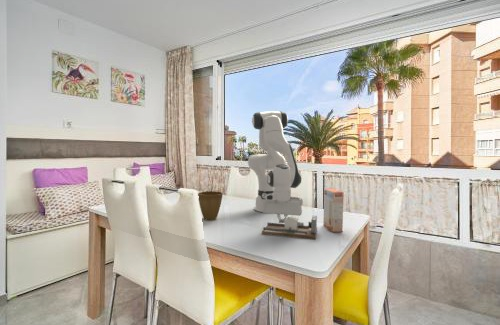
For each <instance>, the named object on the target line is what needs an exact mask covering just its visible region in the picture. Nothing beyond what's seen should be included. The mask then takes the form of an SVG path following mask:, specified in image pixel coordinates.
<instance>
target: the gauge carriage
mask: <svg viewBox="0 0 500 325" xmlns="http://www.w3.org/2000/svg"><path fill="white" fill-rule="evenodd" d="M284 224H285V229H289V230H290V229H292V230H297V228H298V226H305V225H304V222H300V221H299V216H294V215H287V217H286V219H285V223H284Z"/></svg>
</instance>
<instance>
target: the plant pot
mask: <svg viewBox="0 0 500 325" xmlns="http://www.w3.org/2000/svg"><path fill="white" fill-rule="evenodd" d="M197 196H199V198H198V203H199V208H200V211H201V214H202V217H203V219H204V220H205V221H215V220H217V218H218V215H219V211H220V210H221V209H220V208H221V204H222V199H223V192H222V191H214V190H213V191H212V190H211V191H210V190H208V191H200V192H198V193H197Z"/></svg>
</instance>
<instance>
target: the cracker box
mask: <svg viewBox="0 0 500 325" xmlns="http://www.w3.org/2000/svg"><path fill="white" fill-rule="evenodd" d="M323 192H324V193H323V221H322V222H323V224H322V225H323V226H324V227H325V228H326V229H328V230H329V231H330V232H331V233H342V232H343V224H344V218H343V217H344V192H343V191H340V190H338V189H336V188H324V189H323Z"/></svg>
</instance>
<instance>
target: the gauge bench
mask: <svg viewBox="0 0 500 325" xmlns="http://www.w3.org/2000/svg"><path fill="white" fill-rule="evenodd" d="M265 227H269V228H280V229H285V227H283V226H272V225H267V224H266V226H265ZM297 230H303V231H307V234H305V233H295V232H284V231H273V230H263V229H262V231H261V234H262V235H266V236H267V235H268V236H275V237H287V238H295V239H296V238H298V239H299V238H300V239H308V240H316V237H317V232H318V229H317V230H316V234H311V228H309V229H307V228H297Z"/></svg>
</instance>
